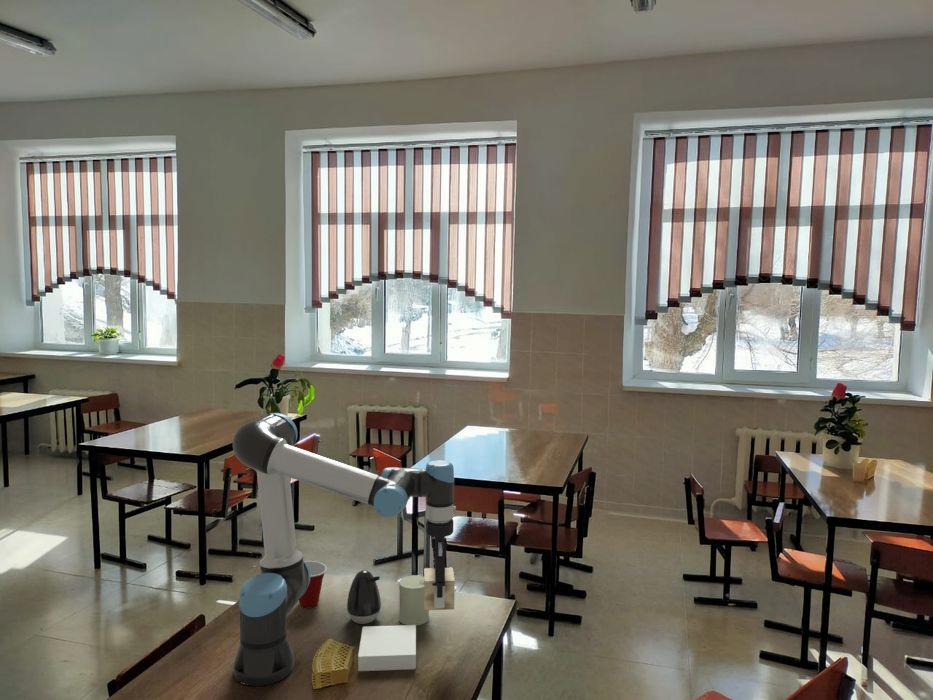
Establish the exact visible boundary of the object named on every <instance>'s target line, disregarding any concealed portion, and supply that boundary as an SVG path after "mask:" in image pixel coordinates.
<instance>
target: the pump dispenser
mask: <svg viewBox="0 0 933 700" xmlns="http://www.w3.org/2000/svg"><path fill="white" fill-rule="evenodd" d="M380 578H381V577H380V576H379V575H377V576H374V575H373V574H372V572H371V571H369V570H365V569H364V570H359V571H358V572H357V573H356V574H355V575H354V577H353V579H352V581H351V582H352V583H351V584H350V588H349V591H348V595H347V602H346V611H347V613H348V617H349V618H350V619H351V620H352V622H354V623H356V624H359V625H361V624H362V625H363V624H364V625H365V624H369V623H371V622H373V621H375V620H377V617H378V615H380V611H381V609H382V600H381V595H380V590H379V587H378V584H377V583H378V582H377V581H379V580H380Z"/></svg>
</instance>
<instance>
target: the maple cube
mask: <svg viewBox="0 0 933 700" xmlns="http://www.w3.org/2000/svg"><path fill="white" fill-rule="evenodd" d="M454 573H455V572H454V568H453V567H445V607H444V608H434V586H432V583H435V568H434V567H430V568H429V567H425V568H424V569H423V576H424V610H429V611H439V610H440V611H441V610H442V611H443V610H446V611H447V610H448V611H449V610H455V588H456V587H455V586H456V585H455V581H456V579H455V574H454Z"/></svg>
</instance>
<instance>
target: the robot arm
mask: <svg viewBox="0 0 933 700" xmlns="http://www.w3.org/2000/svg"><path fill="white" fill-rule="evenodd" d="M232 439H233V440H232V449H233V453H234V456H235V458H237V459H238V461H239V462H240V463H241V464H243V466H244V465H245V466H246V467H248V468H250V469H251V470H254V471H255V472H256V476H257V477H256V478H257V486H258V488H257V489H258V497H259V507H260V517H261V519H260V520H261V527H262V529H261V530H262V536H263V537H262V538H263V547H264V548H263V549H264V556H263V557H262V558H261V559H260V560H259V565H260V567H259V568H260V573H259V574H257V575H256V576H252V577H251V578H249V579H247V580H245V582H244V583H243V584H242V586H241V587H240V591H239V596H238V597H239V598H238V608H239V609H238V611H239V615H238V616H239V638H240V639H239V643H240V644H239V647H238V650H237V653H236V656H235V659H234V663H233V677H235V678H236V679H235V678H234V679H235V680H236V681H237V680H238V681H239V682H242V683H245V684H248V685H253V686H252V687H262V686H263V687H264V686H267V685H273V684H275V683H277V682H279V681H281V680H283V679H285V678H286V677H288V676H289V675H290V674H291V673H292V671H293V670H294V668H295V654H294V652H293V649H292V646H291V644H290V641H289V639H288V631H287V630H288V625H287V623H288V618H287V617H288V614H289V613H290V612H291V610H292V609H293V608H294V607H295V605H296V604H297V603H299V599H300V598H301V597H302V596H303V595H304V593H305V592H306V590H307V587H308V585H309V582H310V569H309V566H308V565H307V563H305V560H304V556H303V553H302V552H301V551H299V550H298V549H297V540H296V528H295V517H294V509H293V508H294V507H293V498H292V497H293V496H292V486H291V485H292V484H291V479H293V480H296V481H299V482H302V483H304V484H308V485H311V486H314V487H316V488H319V489H323V490H325V491H329V492H331V493H335V494H337V495H340V496H342V497H345V498H349V499H352V500H354V501H358V502H360V503H364V504H366V505H370V506H372V507H374V509H375V511H376V512H377V513H378V514H379V515H380V516H382V517H384V518H392V517H396V516H398V515H399V514H400V513H401V512H402V511H403V510H404V509H405V508H406V506H407V504H408V501H409V500H410V499H411V497H412V498H413V497H414V498H425V518H426V519H425V533H426V534H427V535H428V536H430V537H432V538H431V544H432V545H431V546H432V547H431V548H432V557H433V561H432V562H433V566H432V568H435V583H432V586H434V608H444V607H445V568H446V558H447V548H448V541H447V537H448V536H451V535H452V534H453V533H454V519H453V518H454V511H455V510H457V506H455V505H454V503H455V501H454V499H455V493H454V492H455V474H454V473H455V472H454V465H453V464H452V463H451V462H450V461H447V460H440V459H438V460H431V461H428V462H427V463H426V465H425V467H424V468H413V467H411V468H410V467H400V466H399V467H398V466H394V467H393V466H392V467H386V468H384V469H383V470H382V473H381V475H379V474H376V473H373V472H369V471H367V470H364V469H362V468H358V467H355V466H352V465H349V464H346V463H343V462H340V461H337V460H334V459H331V458H328V457H326V456H322V455H319V454H317V453H314V452H311V451H308V450H306V449H302V448H299V447H296V446H295V444H297V443H296V442H297V439H298V428H297V426H296V424H295V422H294V421H293V420H292V419H291V418H290V417H288V416H287V415H286V414H284V413H279V412H271V413H267V414H262V415H261V416H260V417H258V418H256V419H253V420H252V421H249V422H246V423H244V424H243V425H241V426H240V427H239V428H238V429H237V430H236V432H235V434H234V436H233V438H232ZM238 681H237V682H238ZM239 682H238V683H239ZM248 685H247V686H248Z"/></svg>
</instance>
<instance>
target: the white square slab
mask: <svg viewBox="0 0 933 700" xmlns="http://www.w3.org/2000/svg"><path fill="white" fill-rule="evenodd" d="M416 660H417V626H416V625H405V624H403V625H402V624H401V625H375V626H374V625H373V626H362V630H361V635H360V642H359V648H358V655H357V671H358V672H370V671H373V672H374V671H375V672H376V671H377V672H378V671H398V670H399V671H403V670H416V668H417V661H416Z"/></svg>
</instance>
